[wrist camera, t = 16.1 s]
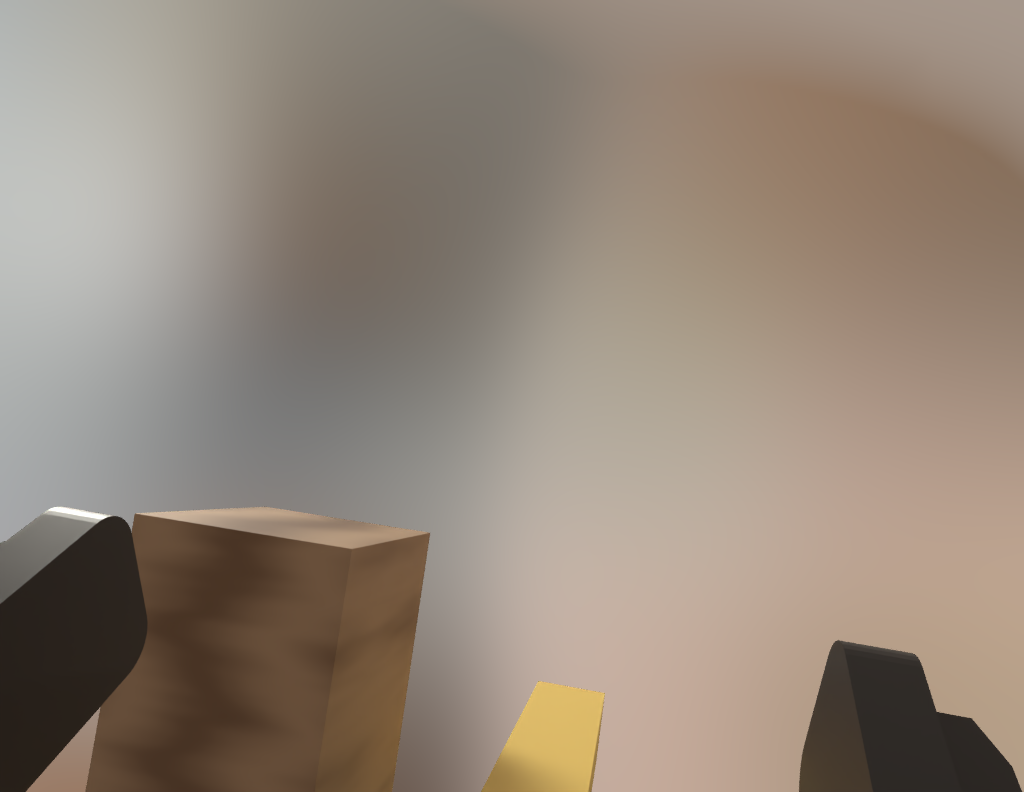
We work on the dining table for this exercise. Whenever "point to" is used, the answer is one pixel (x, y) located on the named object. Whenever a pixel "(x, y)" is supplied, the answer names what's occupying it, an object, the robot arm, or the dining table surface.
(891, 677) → the robot arm
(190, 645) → the stand
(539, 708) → the bar
